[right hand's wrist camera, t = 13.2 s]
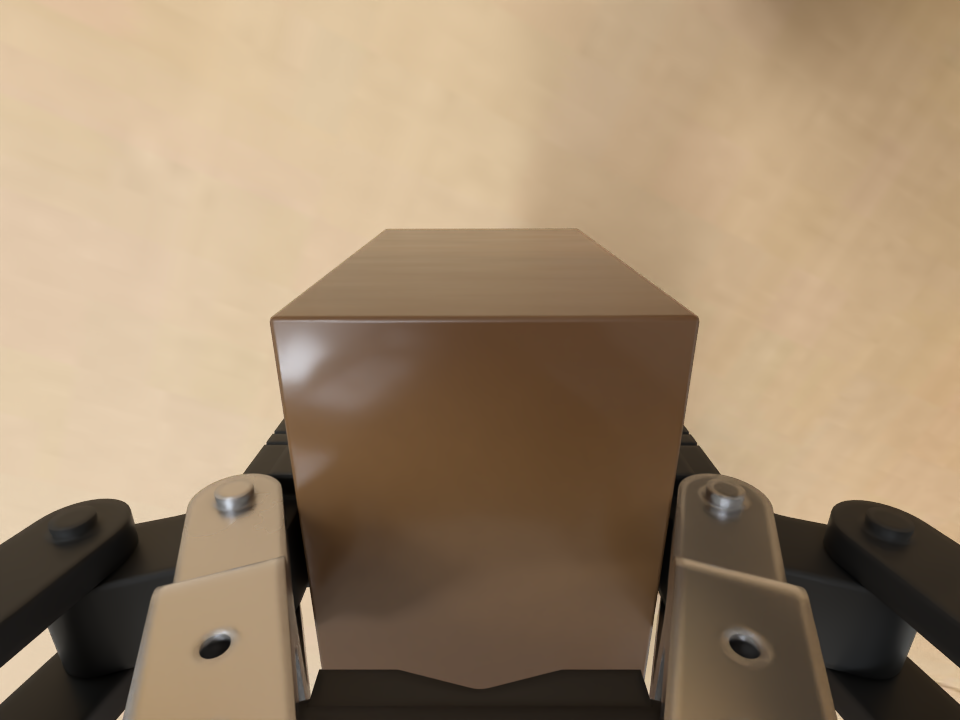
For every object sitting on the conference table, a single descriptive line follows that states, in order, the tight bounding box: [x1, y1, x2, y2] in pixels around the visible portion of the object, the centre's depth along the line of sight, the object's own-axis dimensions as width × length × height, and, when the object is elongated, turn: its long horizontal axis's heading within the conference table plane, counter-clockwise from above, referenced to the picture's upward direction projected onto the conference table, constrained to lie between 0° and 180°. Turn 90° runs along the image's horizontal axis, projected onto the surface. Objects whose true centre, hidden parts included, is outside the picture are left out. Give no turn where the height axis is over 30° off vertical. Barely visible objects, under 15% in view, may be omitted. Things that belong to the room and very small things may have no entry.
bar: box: [270, 229, 699, 689], centre depth 14 cm, size 23×5×8 cm, turn 0°
